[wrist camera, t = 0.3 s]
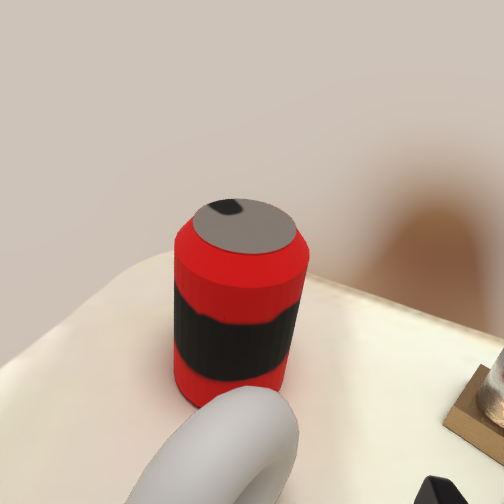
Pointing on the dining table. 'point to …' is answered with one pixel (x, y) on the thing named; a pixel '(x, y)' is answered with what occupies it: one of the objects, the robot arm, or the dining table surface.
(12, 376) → the dining table surface
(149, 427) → the dining table surface
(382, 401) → the dining table surface
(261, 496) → the donut
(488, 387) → the post
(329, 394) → the dining table surface
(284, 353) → the soda can
